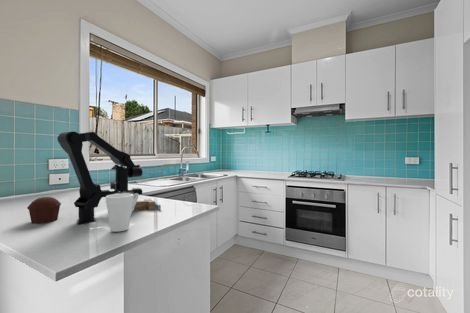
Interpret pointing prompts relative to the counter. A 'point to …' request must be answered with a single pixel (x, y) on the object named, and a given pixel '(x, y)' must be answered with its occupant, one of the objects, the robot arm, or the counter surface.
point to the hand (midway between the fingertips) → (121, 209)
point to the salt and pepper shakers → (134, 200)
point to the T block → (145, 205)
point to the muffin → (44, 210)
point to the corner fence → (157, 206)
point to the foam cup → (119, 211)
